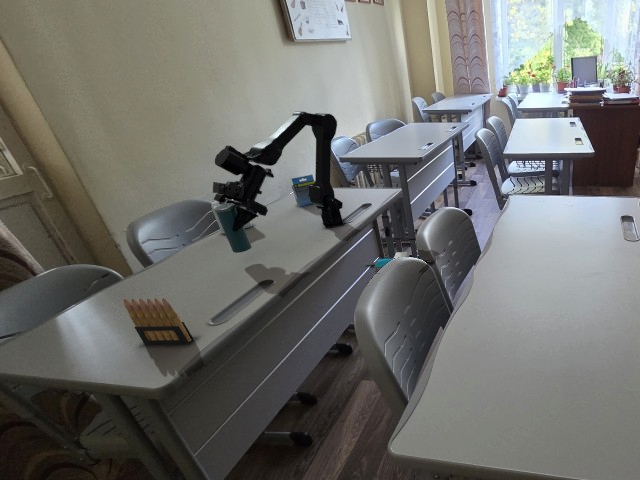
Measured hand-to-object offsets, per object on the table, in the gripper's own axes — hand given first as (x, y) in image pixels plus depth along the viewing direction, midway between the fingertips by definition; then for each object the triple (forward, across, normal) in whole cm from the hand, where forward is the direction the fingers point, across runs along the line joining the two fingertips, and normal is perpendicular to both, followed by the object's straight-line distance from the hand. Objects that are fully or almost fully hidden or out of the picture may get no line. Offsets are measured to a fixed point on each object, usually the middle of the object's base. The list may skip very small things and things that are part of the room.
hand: (228, 229), depth 120 cm
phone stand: (-7, +46, +24) cm, 52 cm away
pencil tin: (+4, 0, +6) cm, 7 cm away
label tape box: (-25, -31, +42) cm, 58 cm away
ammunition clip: (+30, +24, -14) cm, 41 cm away
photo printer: (-3, -31, +19) cm, 37 cm away
